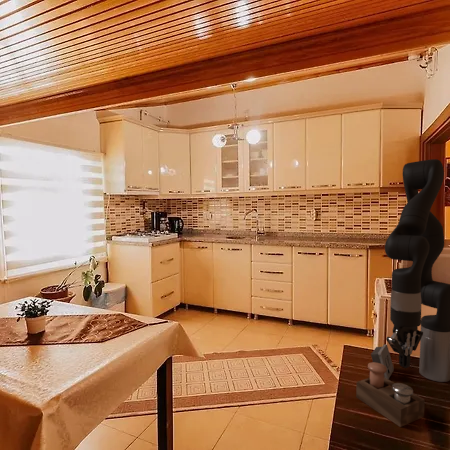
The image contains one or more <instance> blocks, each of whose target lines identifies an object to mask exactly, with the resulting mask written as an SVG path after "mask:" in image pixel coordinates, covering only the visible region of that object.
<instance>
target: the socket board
mask: <svg viewBox="0 0 450 450" xmlns="http://www.w3.org/2000/svg"><path fill="white" fill-rule="evenodd" d="M395 383H396V382H394V381H391V380H390V379H386V378H385V377H384V387H383V388H381V389H377V388H375V387H373V386H372V385H370V377H367V378H364V379H362V380H358V381H356V388H355V389H356V391H355V392H356V393H355V395H356V399H358V400H360V401H361V402H363V403H364V404H365V405H367V406H369V407H370V408H371V409H373V410H374V411H375V412H377V413H379V414H380V415H382V416H383V417H385V418H386V419H388V420H389V421H390V422H392V423H394V424H395V425H396V426H398V427H400V428H401V427H404V426H406V425H409V424H410V423H413V422H415V421H417V420H419V419H422V418H424V417H425V403H426V402H425V398H423V397H421V396H419V395H417V394H416V393H414V392H413V395H411V396H410V403H409V404H406V405H403V404H402V403H400V402H398V401H397V400H395V399H394V391H393V390H392V385H393V384H395Z"/></svg>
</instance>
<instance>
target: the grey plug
mask: <svg viewBox="0 0 450 450" xmlns="http://www.w3.org/2000/svg"><path fill="white" fill-rule="evenodd" d="M394 383H395V384H393V385H392V390H393V391H394V399H395V400H397V401H398V402H400V403H402V404H403V405H406V404H409V403H410V396H411V395H413V393H414V390H413V387H411V386H410V385H407V384H405V383H401V382H394Z"/></svg>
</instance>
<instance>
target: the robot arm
mask: <svg viewBox="0 0 450 450" xmlns="http://www.w3.org/2000/svg"><path fill="white" fill-rule="evenodd" d="M444 177H445V171H444V164H443V163H442V161H441V160H439V159H437V158H436V159H435V158H433V159H432V158H431V159H425V160H419V161H412V162H411V161H410V162H408V163H405V164H404V165H403V167H402V182H403V187H404V192H405V196H406V200H407V203H406V204H405V205H404V206H403V208H402V210H401V213H400V217H399V221H398V223H397V225H396V226H395V228H394V229H393V230H392V232H391V233H390V234H389V236H388V237H387V239H386V241H385V243H384V252H385V254H386V256H387V257H388V258H389V259H391V260H395V261H406V262H412V264H411V266H408V267H400V268H396V269H395V268H394V269H393V270H392V272H391V294H390V308H389V309H390V313H389V314H390V315H389V316H390V318H389V319H390V322H391V324H393V328H392V334H391V335H390V336H387V337H386V338H385V340H386V341H387V343H388V345H389V347H390V348H391V349H392V352H394V353H397V354H398V357H399V360H398V364H399V366H400V367H402V368H404V369H407V368H410V367H411V355H412V354H413V351H414V352H415V351H417V348H418V346H419V370H418V372H419V374H420V375H421V376H422V377H424V378H426V379H427V380H431V381H434V382H439V383H446V382H449V381H450V283H446V282H442V281H436V280H434V279H433V274H432V273H433V272H432V271H433V266H434V264H435V262H436V261H437V260H438V258H439V257H440V255H441V254H442V252H443V250H444V248H445V235H444V228H443V225H442V223H441V221H439V219H438V217H437V216H435V215H434V213H433V212H432V211H431V210H432V207H433V205H434V203H435V201H436V199H437V196H439V195H438V194H439V192H440V191H441V187H442V186H443V182H444ZM419 190H420V191H419ZM422 305H423V306H425V307H429V308H433V309H436V314H427V315H424V316H422ZM419 326H420V330H419V328H418V327H419ZM419 344H420V345H419Z"/></svg>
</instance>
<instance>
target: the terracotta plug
mask: <svg viewBox="0 0 450 450" xmlns="http://www.w3.org/2000/svg"><path fill="white" fill-rule="evenodd" d="M367 369H368V370H369V378H370V385H372V386H373V387H375V388H377V389H381V388H383V387H384V378H385V377H384V373H386V371H387V368H386V366H384V365H383V364H380V363H376V362H373V361H372V362H369V363H368V364H367Z"/></svg>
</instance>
